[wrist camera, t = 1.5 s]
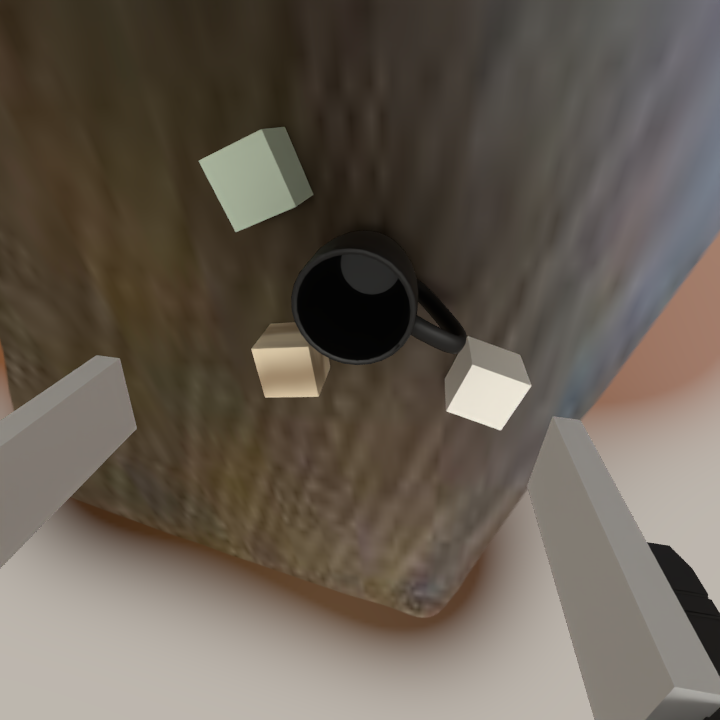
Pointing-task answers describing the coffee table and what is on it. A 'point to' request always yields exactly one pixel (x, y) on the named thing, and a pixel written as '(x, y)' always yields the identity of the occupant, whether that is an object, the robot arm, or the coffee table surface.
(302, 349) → the maple cube
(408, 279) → the mug
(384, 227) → the coffee table surface
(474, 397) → the cream cube
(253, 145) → the sage cube
